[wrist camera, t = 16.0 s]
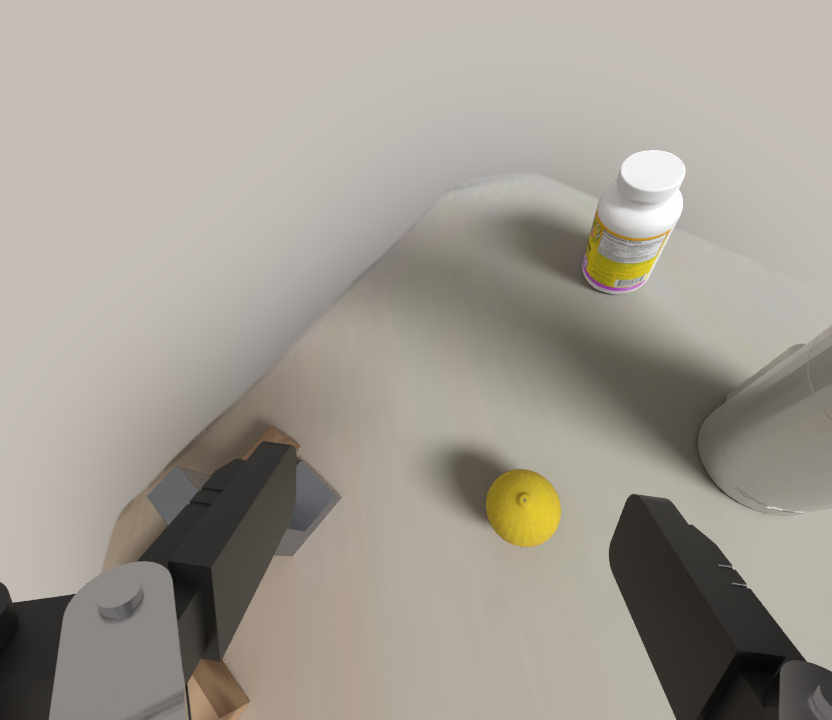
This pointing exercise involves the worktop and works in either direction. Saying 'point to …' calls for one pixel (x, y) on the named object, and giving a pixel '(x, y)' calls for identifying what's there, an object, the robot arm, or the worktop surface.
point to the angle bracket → (308, 512)
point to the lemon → (523, 508)
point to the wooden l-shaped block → (211, 680)
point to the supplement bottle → (634, 222)
